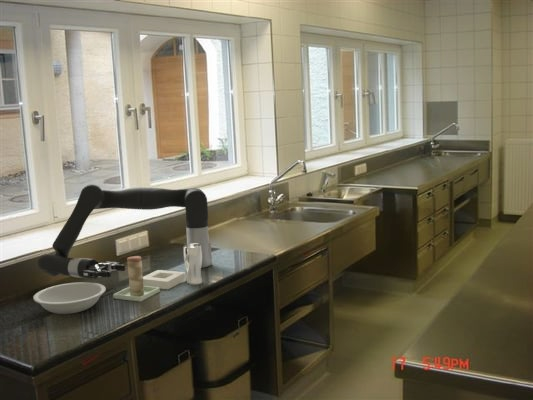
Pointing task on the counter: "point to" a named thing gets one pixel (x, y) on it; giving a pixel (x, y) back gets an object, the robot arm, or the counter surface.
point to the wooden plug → (135, 276)
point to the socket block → (164, 279)
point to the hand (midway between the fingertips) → (117, 271)
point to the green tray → (126, 296)
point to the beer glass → (193, 263)
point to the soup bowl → (69, 297)
